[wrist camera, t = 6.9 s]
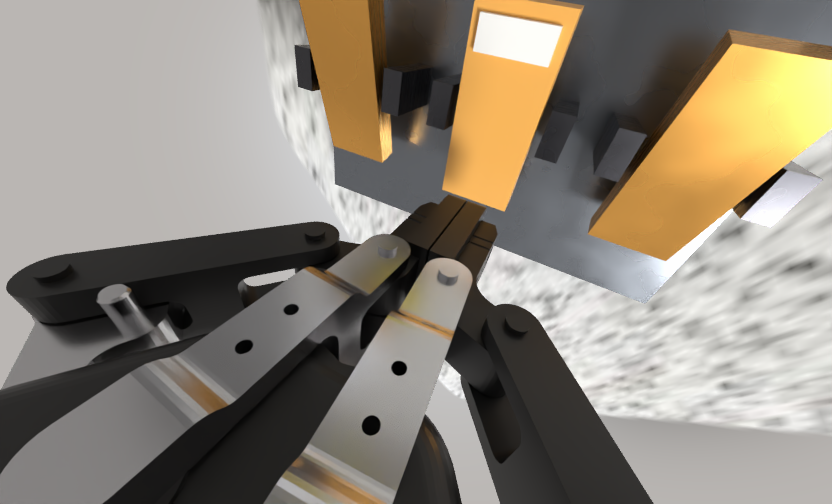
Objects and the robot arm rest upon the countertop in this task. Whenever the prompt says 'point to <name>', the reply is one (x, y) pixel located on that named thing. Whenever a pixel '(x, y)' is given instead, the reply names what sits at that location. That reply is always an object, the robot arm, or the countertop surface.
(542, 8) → the middle breaker
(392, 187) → the breaker panel
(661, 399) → the countertop surface
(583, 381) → the countertop surface
